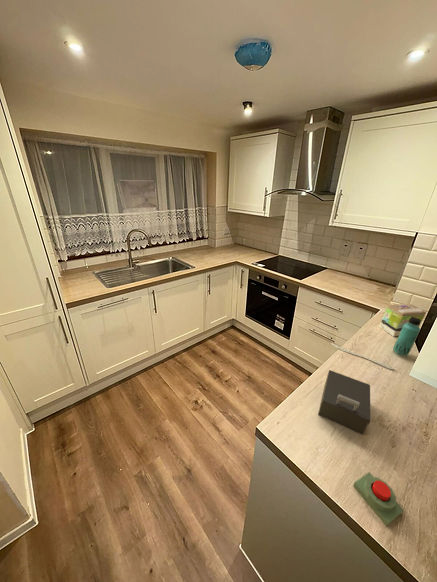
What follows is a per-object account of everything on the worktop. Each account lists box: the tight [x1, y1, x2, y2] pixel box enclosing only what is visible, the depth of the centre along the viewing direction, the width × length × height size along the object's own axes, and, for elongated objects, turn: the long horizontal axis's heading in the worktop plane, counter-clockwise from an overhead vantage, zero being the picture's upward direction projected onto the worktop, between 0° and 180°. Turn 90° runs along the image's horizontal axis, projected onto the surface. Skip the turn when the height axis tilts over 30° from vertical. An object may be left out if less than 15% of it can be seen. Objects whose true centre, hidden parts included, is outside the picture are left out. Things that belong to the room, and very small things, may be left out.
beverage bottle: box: [392, 317, 422, 357], centre depth 109 cm, size 6×7×20 cm
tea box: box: [378, 303, 427, 337], centre depth 129 cm, size 15×10×15 cm, turn 102°
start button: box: [372, 480, 391, 501], centre depth 59 cm, size 4×4×2 cm
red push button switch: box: [352, 471, 405, 527], centre depth 60 cm, size 6×9×4 cm
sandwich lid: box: [322, 369, 371, 425], centre depth 81 cm, size 17×14×5 cm
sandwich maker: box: [317, 375, 369, 436], centre depth 84 cm, size 16×14×6 cm
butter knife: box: [330, 342, 395, 371], centre depth 111 cm, size 1×27×3 cm
